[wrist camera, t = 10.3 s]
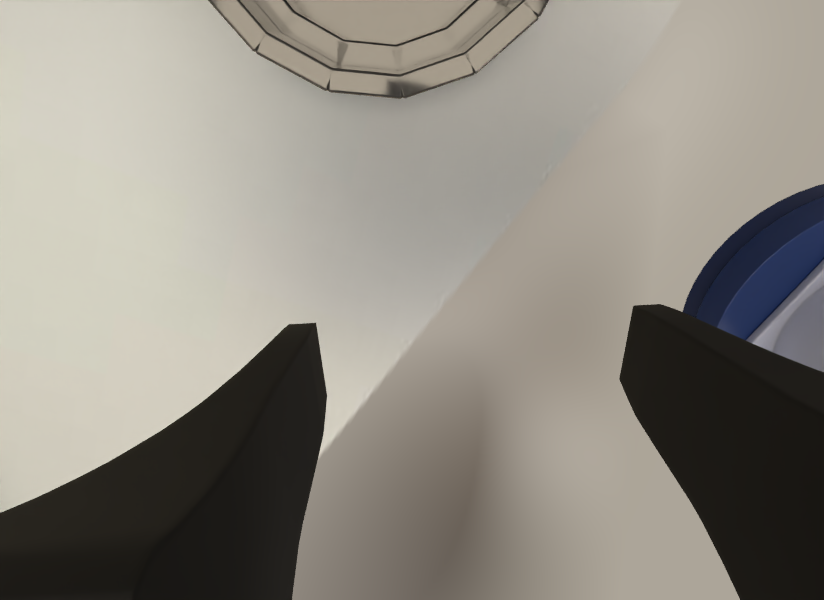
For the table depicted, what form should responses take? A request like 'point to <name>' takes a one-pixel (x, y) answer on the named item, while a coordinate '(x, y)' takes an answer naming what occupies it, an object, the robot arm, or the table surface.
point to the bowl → (380, 39)
